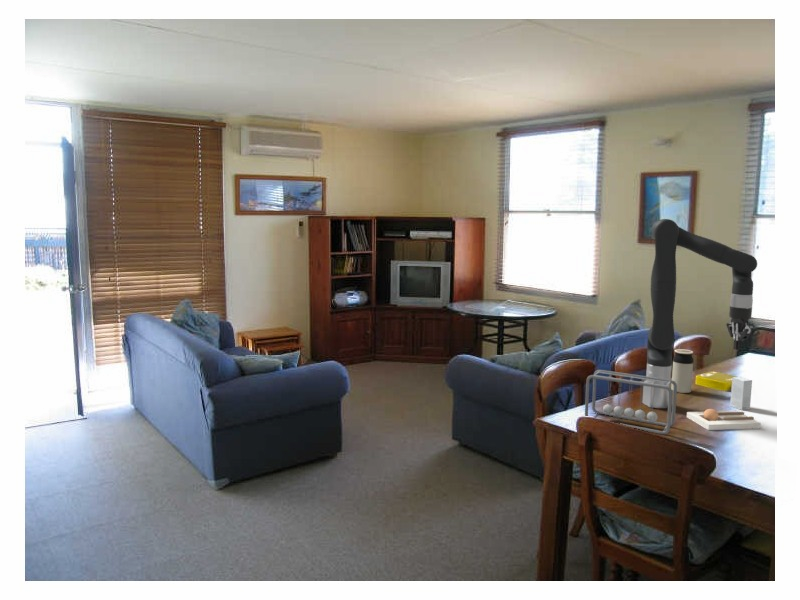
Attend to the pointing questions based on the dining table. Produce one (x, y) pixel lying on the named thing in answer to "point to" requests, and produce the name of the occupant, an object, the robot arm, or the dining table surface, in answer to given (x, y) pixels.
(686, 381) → the travel mug
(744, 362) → the dining table surface
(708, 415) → the ball
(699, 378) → the element tile
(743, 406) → the skincare box
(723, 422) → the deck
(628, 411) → the newton's cradle
